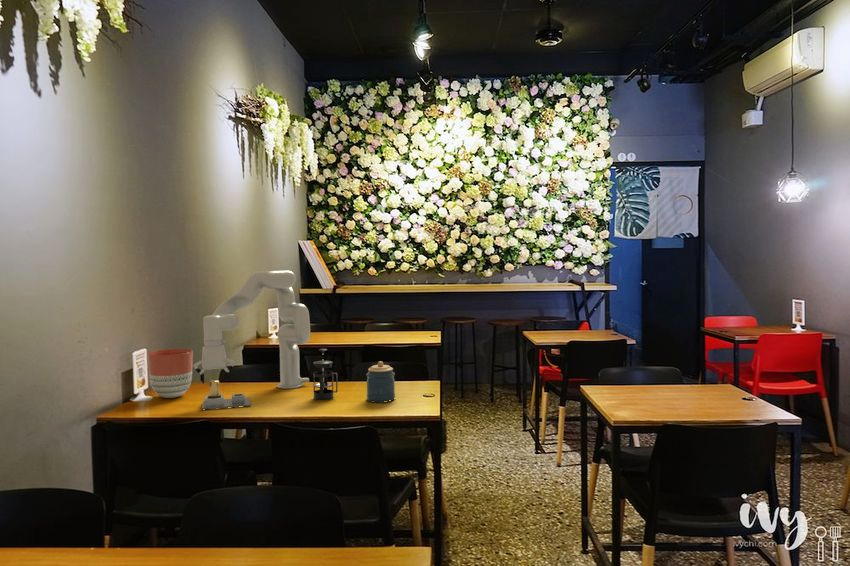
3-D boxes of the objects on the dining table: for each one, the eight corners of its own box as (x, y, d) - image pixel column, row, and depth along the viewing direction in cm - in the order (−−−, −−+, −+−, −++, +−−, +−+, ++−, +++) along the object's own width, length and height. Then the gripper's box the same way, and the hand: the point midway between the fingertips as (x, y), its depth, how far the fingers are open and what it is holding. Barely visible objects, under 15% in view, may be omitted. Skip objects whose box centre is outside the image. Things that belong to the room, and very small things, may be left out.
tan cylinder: (219, 402, 258) (219, 379, 258) (219, 404, 255) (218, 381, 254) (210, 402, 257) (209, 380, 257) (209, 404, 253) (209, 382, 253)
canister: (391, 403, 257) (390, 364, 256) (363, 402, 259) (362, 363, 259) (398, 396, 270) (397, 359, 269) (371, 395, 272) (370, 358, 271)
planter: (162, 404, 260) (161, 356, 259) (141, 398, 272) (139, 352, 271) (202, 395, 275) (201, 350, 275) (180, 390, 287) (178, 347, 286)
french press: (309, 401, 263) (308, 350, 262) (314, 396, 273) (313, 347, 272) (335, 400, 263) (334, 350, 262) (339, 396, 272) (338, 347, 271)
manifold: (249, 399, 267) (249, 390, 267) (250, 406, 254) (250, 397, 254) (203, 403, 261) (203, 394, 261) (201, 410, 248) (201, 401, 248)
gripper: (234, 340, 261) (235, 378, 262) (192, 343, 256) (194, 381, 257) (233, 343, 254) (235, 381, 255) (191, 346, 249) (193, 385, 250)
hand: (214, 381), depth 256 cm, fingers open, 9 cm apart
